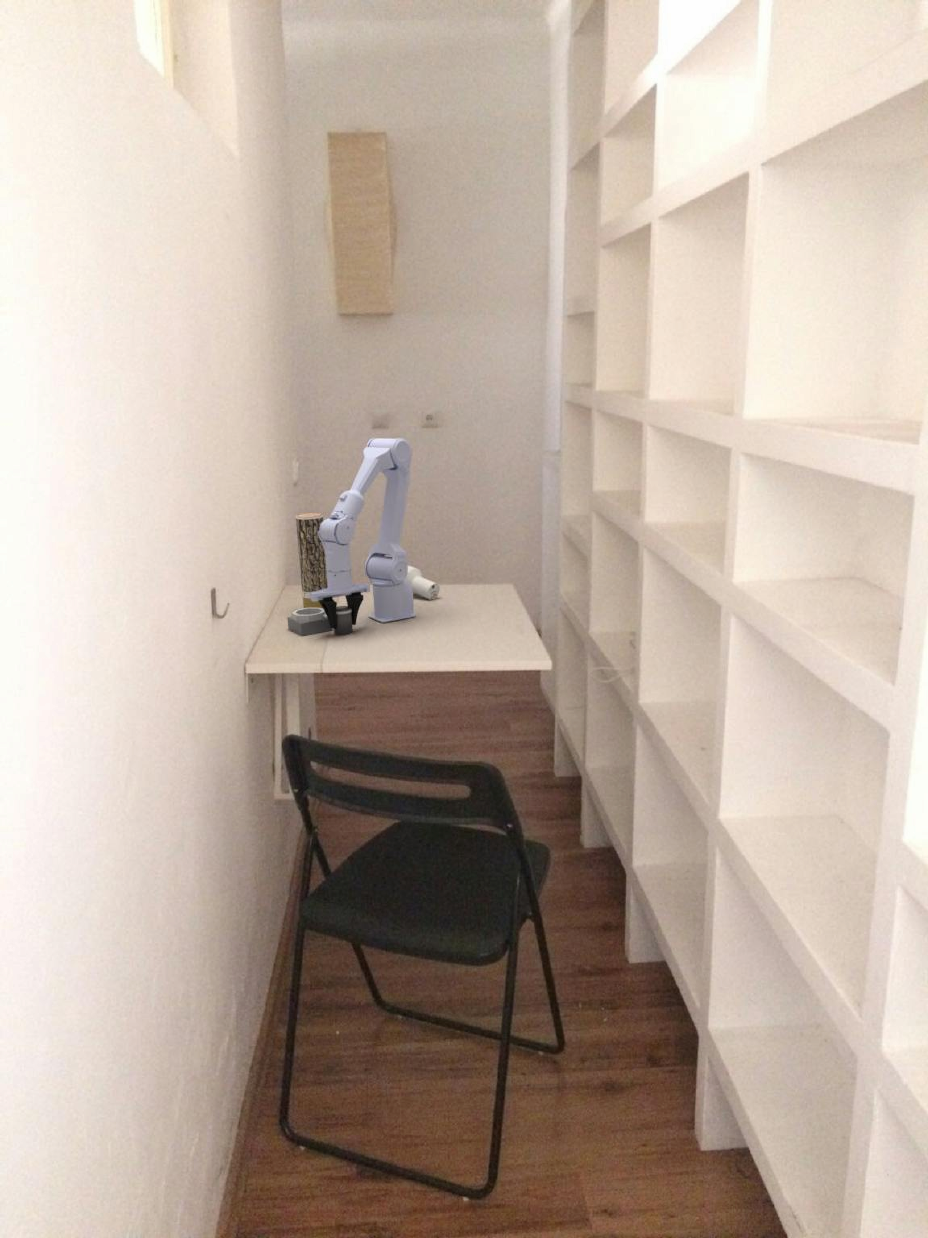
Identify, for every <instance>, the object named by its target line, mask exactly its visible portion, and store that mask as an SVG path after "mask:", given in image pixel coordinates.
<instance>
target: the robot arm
mask: <svg viewBox="0 0 928 1238" xmlns="http://www.w3.org/2000/svg"><path fill="white" fill-rule="evenodd" d="M362 452H363V461H362V462H361V465H360V467H359V469H358V472H357V474H356V476H355V478H354V481H353V483H352V484H351V487H350V489H349V490H345V491H343V492H342V493H341V494H340V496H339V497H338V501H337V503H336V505H335V506H334V508H333V510H332V512H331V514H330V515H329V518H326V519H323V522H322V523H321V525H320V528H319V532H318V536H319V538H320V540H321V541H322V543H323V548H324V550H325V557H326V569H327V582H328V588H326V589H322V590H319V591H315V592H310V596H311V601H314V602H316V601H318V600H319V603H320V604H321V606H322V607H323V609H324V611H325V613H326V615H327V618H328V620H329V624H330V627H331V628H333V630H334V629H337V621H336V607H338V603H337V601H335V600H334V599H333V598H338V597H345V599H346V604H347V605H346V606H350V607H351V609H352V625H353V626H356V625H357V618H358V615H359V610H360V608H361V605H362V602H363V601H364V595H363V594H362V593H371V586H370V585H371V584H372V597H373V610H374V611H373V612H374V613H372V614H368V615H367V616H368V618H370V619H373V620H374V621H377V622H380V623H384V624H385V623H389V622H394V621H399V620H405V619H409V618H413V617H414V618H415V617H416V614H415V608H414V607H415V605H414V595H413V590H412V587H411V584H410V583H409V582H408V581H407V580H405V578H406V576H407V573H408V566H409V565H408V553H407V552H406V550H405V549H404V548H403V547H402V546H401V541H402V533H403V526H404V520H405V513H406V508H407V507H406V505H407V500H408V492H409V486H410V481H411V480H410V478H411V464H412V463H411V462H412V456H413V449H412V448H411V446H410V444H409V442H408V441H407V440H406V439H405V438H402V437H399V438H379V437H372V438H370V439H368V442H367V444H366V446H365V448H364V449H363V451H362ZM380 472H381V473H382V474H383V476H384V477H385V479H386V484H385V491H384V500H383V505H382V512H381V519H380V524H379V525H380V527H379V533H378V541H377V542H376V543H375V544H374V545H373V546H372V547H371V548H370V549H369V552H368V557H367V558H366V560H365V564H364V573H365V576H366V577H367V578H368V579H369V581H370V583H367V582H364V583H354V584H353V578H352V576H353V575H352V563H351V549H350V547H351V546H350V542H351V541H352V539H354V536H355V527H356V522H357V519H358V518H359V516H360V514H361V512H362V510H363V509H364V506H365V504H366V503H365V499H364V496H365V494H366V493H367V492H368V490H369V489H370V487H371V485H372V484H373V483H374V481H375V479H376V478H377V477H378V475H379V473H380Z"/></svg>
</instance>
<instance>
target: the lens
mask: <svg viewBox="0 0 928 1238" xmlns="http://www.w3.org/2000/svg"><path fill="white" fill-rule="evenodd" d="M336 621H337V629H333V632H334V635H336V636H347V634H348V635H351V634H350V633H352V632H353V633H354V628H353V626H354V625H352V609H351V607H350V606H348V605H340V606H339V605H337V606H336ZM353 633H352V634H353Z"/></svg>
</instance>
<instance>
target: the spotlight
mask: <svg viewBox="0 0 928 1238" xmlns="http://www.w3.org/2000/svg"><path fill="white" fill-rule="evenodd" d="M407 566H408V573H407V576H406V578H405V580H407V581H408V582H409V583H410V584H411V587H412V590H413V596H414V595H418V596H421V597H423V598H425V599H427V600H430V601H432V600H431V599H433V600H436V598H437V597H438V596H439V593H440V590H441V589H440V585H439V584H438V583H436V582H435V581H432V580H430V579H427V578H424V577H423V573H422V571H421V570H420V569H419V568H417V567H414V566H412V565H407Z"/></svg>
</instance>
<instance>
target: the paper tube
mask: <svg viewBox="0 0 928 1238" xmlns="http://www.w3.org/2000/svg"><path fill="white" fill-rule="evenodd" d="M323 521H324V516H323V514H322V513H318V512H317V513H311V512H310V513H302V514H296V515H295V524H296V525H295V526H296V535H297V546H298V548H297V549H298V558H299V571H300V572H299V573H300V581H301V582H300V583H301V593H302V594H301V595H302V603H303V605H302V606H303V608H322V609H323V607H322V606H321V604H320V603H319V600H318V601H316V602H314V601H311V596H310V592H315V591H319V590H322V589H326V588H328V582H327V569H326V557H325V550H324V548H323V543H322V541H321V540H320V538H319V536H318V532H319V528H320V525H321V523H322V522H323Z"/></svg>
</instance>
